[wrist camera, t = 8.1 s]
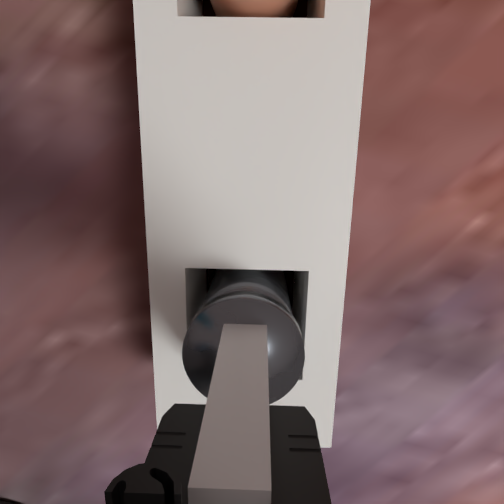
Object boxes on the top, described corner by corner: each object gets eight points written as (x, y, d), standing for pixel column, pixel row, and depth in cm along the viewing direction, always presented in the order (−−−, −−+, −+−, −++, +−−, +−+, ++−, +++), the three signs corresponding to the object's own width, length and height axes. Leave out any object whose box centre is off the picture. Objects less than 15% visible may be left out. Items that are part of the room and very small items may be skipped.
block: (183, 369, 23) (157, 442, 17) (166, -158, 16) (114, -324, 11) (313, 373, 23) (330, 447, 17) (350, -157, 16) (399, -325, 11)
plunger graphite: (209, 321, 21) (183, 407, 14) (208, 245, 20) (179, 297, 13) (288, 323, 21) (301, 411, 14) (291, 247, 20) (308, 301, 13)
